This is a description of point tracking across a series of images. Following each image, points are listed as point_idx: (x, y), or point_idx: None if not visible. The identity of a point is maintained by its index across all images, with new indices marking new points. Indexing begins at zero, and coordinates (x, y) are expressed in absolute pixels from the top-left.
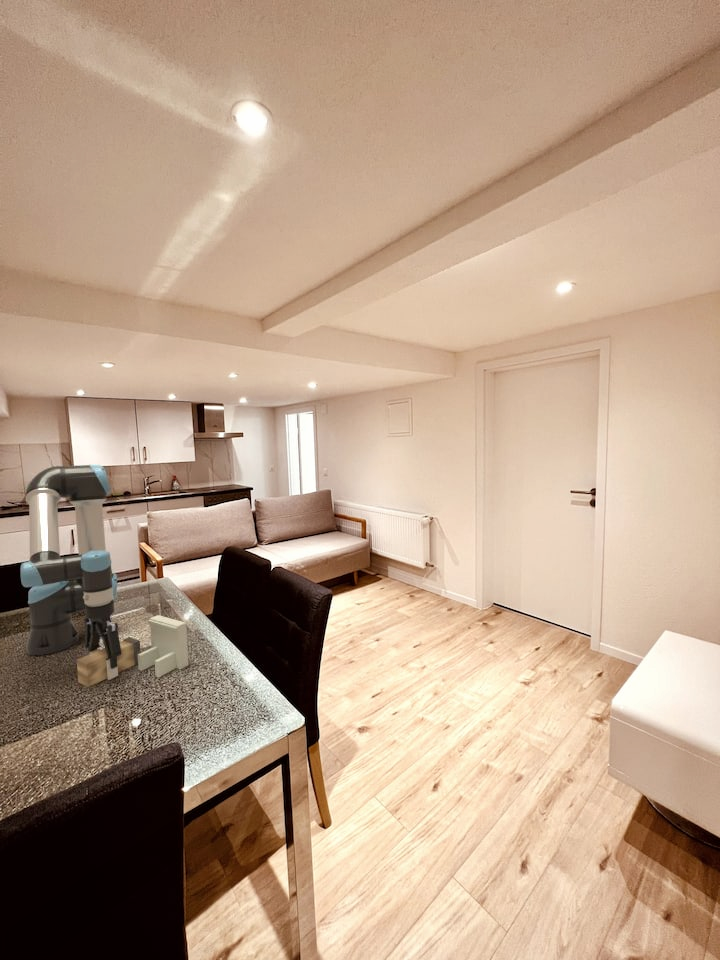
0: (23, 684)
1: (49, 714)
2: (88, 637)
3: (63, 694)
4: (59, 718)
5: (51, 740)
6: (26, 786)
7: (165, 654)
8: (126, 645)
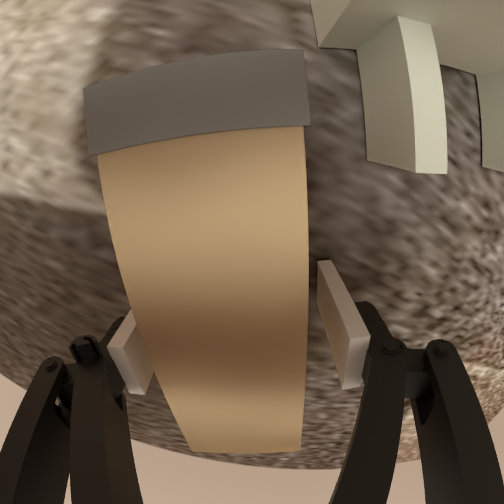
0: None
1: (329, 436)
2: (66, 457)
3: None
4: None
5: None
6: None
7: (470, 53)
8: (274, 198)
